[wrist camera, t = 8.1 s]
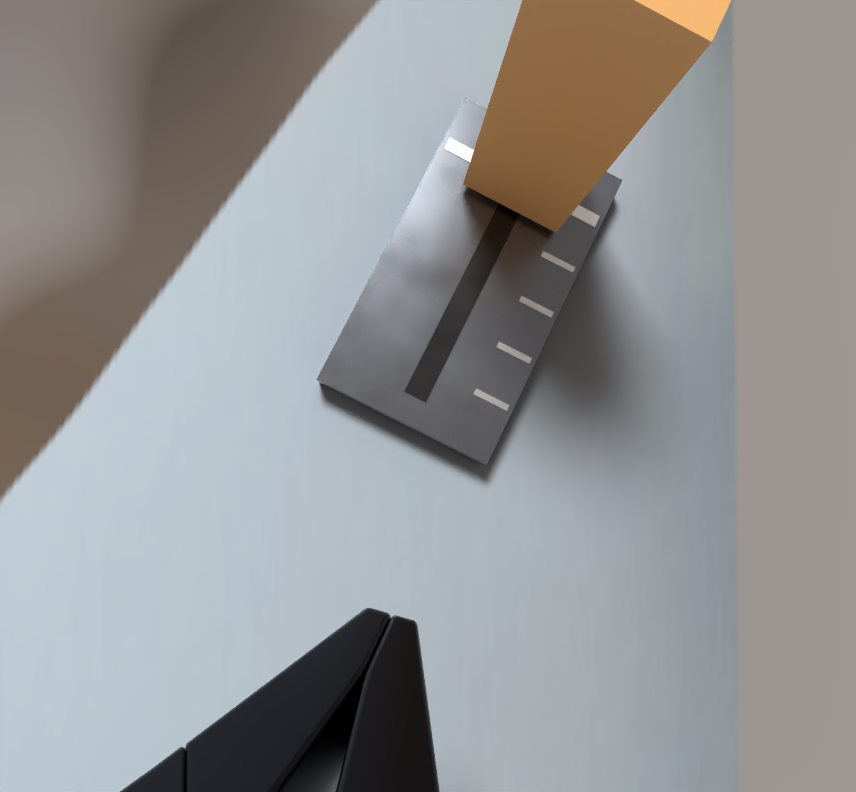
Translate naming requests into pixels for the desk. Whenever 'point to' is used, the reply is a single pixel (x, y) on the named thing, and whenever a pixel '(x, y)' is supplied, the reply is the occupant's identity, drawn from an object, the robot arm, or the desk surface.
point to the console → (460, 303)
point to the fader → (580, 95)
